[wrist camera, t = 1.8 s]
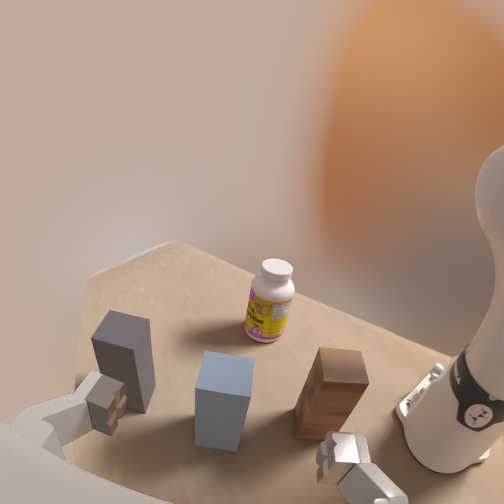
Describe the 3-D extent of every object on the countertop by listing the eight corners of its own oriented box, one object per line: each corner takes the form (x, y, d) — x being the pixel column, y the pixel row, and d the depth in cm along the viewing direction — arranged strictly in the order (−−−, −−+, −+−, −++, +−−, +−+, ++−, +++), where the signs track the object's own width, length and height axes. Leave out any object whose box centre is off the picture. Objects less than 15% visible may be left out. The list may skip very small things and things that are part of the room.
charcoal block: (122, 376, 38) (109, 310, 33) (155, 385, 38) (149, 319, 33) (109, 402, 34) (91, 337, 29) (145, 413, 34) (133, 349, 28)
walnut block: (294, 408, 38) (319, 347, 33) (329, 410, 38) (360, 351, 33) (294, 438, 34) (323, 381, 28) (332, 439, 34) (369, 383, 28)
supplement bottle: (237, 322, 53) (247, 257, 47) (270, 315, 56) (284, 253, 51) (255, 348, 48) (269, 280, 42) (289, 339, 51) (308, 274, 45)
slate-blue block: (201, 413, 36) (205, 350, 30) (240, 419, 36) (254, 358, 30) (194, 445, 31) (195, 387, 26) (236, 452, 31) (250, 397, 26)
